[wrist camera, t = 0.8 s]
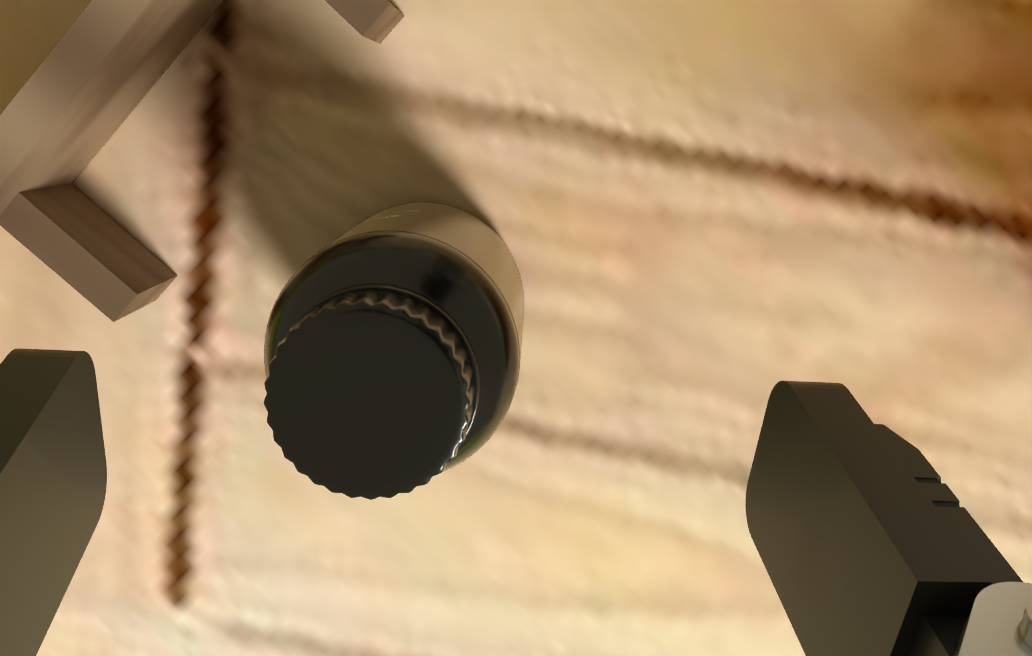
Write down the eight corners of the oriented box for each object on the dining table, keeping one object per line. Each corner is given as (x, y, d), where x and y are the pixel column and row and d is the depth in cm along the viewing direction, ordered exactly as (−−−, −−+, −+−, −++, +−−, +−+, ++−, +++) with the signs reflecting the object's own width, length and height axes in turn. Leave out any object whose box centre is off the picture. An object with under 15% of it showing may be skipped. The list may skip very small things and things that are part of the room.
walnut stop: (268, -116, 30) (218, -159, 26) (404, 15, 31) (382, -2, 26) (22, 184, 33) (-67, 198, 28) (155, 300, 34) (92, 332, 29)
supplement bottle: (373, 165, 32) (287, 198, 21) (556, 251, 33) (573, 329, 21) (297, 345, 34) (175, 470, 22) (474, 424, 34) (446, 585, 23)
